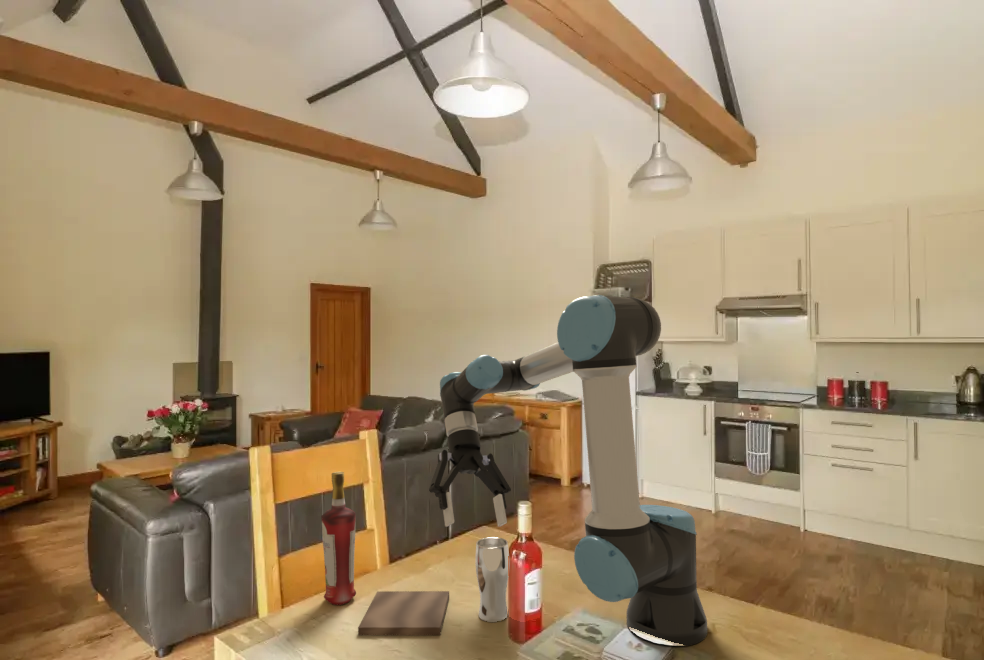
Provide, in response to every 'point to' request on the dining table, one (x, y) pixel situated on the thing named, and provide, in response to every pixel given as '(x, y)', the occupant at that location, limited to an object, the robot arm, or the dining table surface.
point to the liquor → (339, 546)
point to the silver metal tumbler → (492, 577)
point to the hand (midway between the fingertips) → (476, 524)
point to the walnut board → (405, 613)
